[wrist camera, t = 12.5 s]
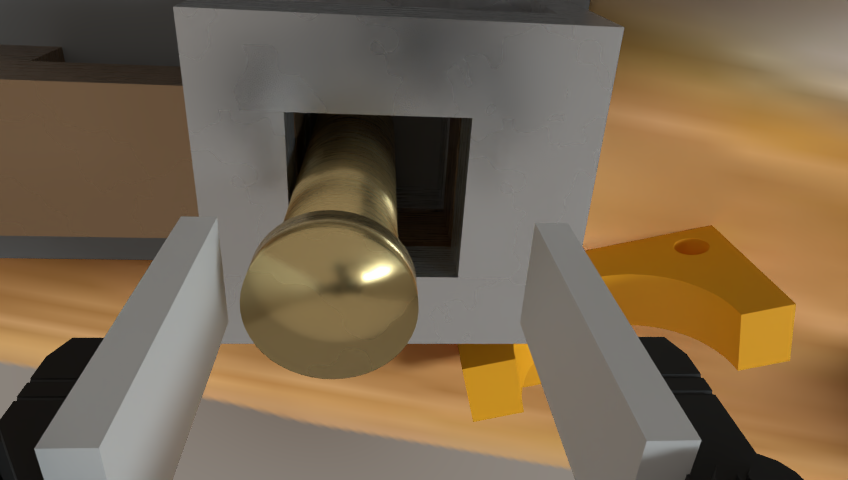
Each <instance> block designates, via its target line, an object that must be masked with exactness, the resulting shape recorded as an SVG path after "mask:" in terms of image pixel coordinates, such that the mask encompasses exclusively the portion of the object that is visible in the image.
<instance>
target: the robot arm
mask: <svg viewBox="0 0 848 480" xmlns="http://www.w3.org/2000/svg"><path fill="white" fill-rule="evenodd" d="M228 322H229V321H228V312H227V303H226V294H225V285H224V275H223V266H222V257H221V248H220V239H219V230H218V220H217V217H188V216H181V217H180V219H179V220H178V222H177V223H176V225H175V226H174V228H173V230H172V231H171V233H170V234H169V236H168V238H167V239H166V241H165V242H164V244H163V245H162V247H161V249H160V250H159V252H158V253H157V255H156V257H155V258H154V260H153V261H152V263H151V264H150V266H149V268H148V269H147V271H146V272H145V274H144V276H143V277H142V279H141V280H140V282H139V283H138V285H137V287H136V288H135V290H134V291H133V293H132V295H131V296H130V298H129V299H128V301H127V303H126V304H125V306H124V307H123V309H122V310H121V312H120V314H119V315H118V317H117V318H116V320H115V322H114V323H113V325H112V326H111V328H110V329H109V331H108V333H107V334H106V336H105V337H104V338H72V339H70V340H69V341H68V342H66V343H65V344H63V345H62V346H61V347H59V348H58V349H56V350H55V351H54V352H52V353H51V354H49V355H48V356H46V358H45V359H44V361H43V362H42V363H41V365H40V366H39V367H38V369H37V370H36V371H35V373H34V374H33V376H32V377H31V381H30V383H27V384H26V385H25V386H24V388H23V389H22V391H21V392H20V393H19V395H18V396H17V401H13V403H12V404H11V406H10V407H9V408H8V410H7V411H6V412H5V414H4V415H3V416H2V418H1V419H0V480H173V477H174V474H175V471H176V469H177V466H178V463H179V460H180V457H181V454H182V452H183V449H184V446H185V443H186V440H187V438H188V435H189V432H190V429H191V426H192V423H193V420H194V418H195V415H196V412H197V409H198V406H199V403H200V401H201V398H202V395H203V392H204V390H205V387H206V384H207V381H208V378H209V375H210V373H211V370H212V367H213V364H214V361H215V358H216V356H217V353H218V350H219V347H220V344H221V342H222V339H223V336H224V333H225V330H226V327H227V325H228ZM520 324H521V327H522V330H523V333H524V336H525V338H526V341H527V344H528V347H529V350H530V353H531V356H532V358H533V361H534V364H535V367H536V370H537V373H538V375H539V378H540V381H541V384H542V387H543V390H544V393H545V395H546V398H547V401H548V404H549V407H550V410H551V412H552V415H553V418H554V421H555V424H556V427H557V429H558V432H559V435H560V438H561V441H562V444H563V447H564V449H565V452H566V455H567V458H568V461H569V464H570V466H571V469H572V472H573V475H574V478H575V480H804V479H802V478H801V477H800V476H799V475H798V474H797V473H796V472H795V471H793V470H792V469H790V468H788V467H787V466H785V465H783V464H782V463H780V462H778V461H776V460H774V459H771V458H768V457H765V456H762V455H760V454H756V452H755V451H754V449H753V448H752V447H751V445H750V444H749V442H748V441H747V439H746V438H745V437H744V435H743V434H742V432H741V431H740V429H739V428H738V427H737V425H736V424H735V422H734V421H733V419H732V418H731V417H730V415H729V414H728V412H727V411H726V409H725V408H724V407H723V405H722V404H721V402H720V401H719V399H718V398H717V397H716V395H713V394H712V389H711V388H710V387H709V385H708V384H707V382H706V381H705V380H704V378H701V376H700V375H701V374H700V372H699V371H698V370H697V368H696V367H695V365H694V364H693V362H692V361H691V360H690V358H689V357H688V355H687V354H686V353H684V352H683V351H682V350H681V349H679V348H678V347H677V346H675V345H674V344H673V343H671V342H670V341H669V340H667V339H666V338H665V337H638V336H637V335H636V333H635V331H634V330H633V328H632V326H631V325H630V323H629V322H628V320H627V318H626V317H625V315H624V313H623V312H622V310H621V309H620V307H619V305H618V304H617V302H616V300H615V299H614V297H613V296H612V294H611V292H610V291H609V289H608V287H607V286H606V284H605V283H604V281H603V279H602V278H601V276H600V274H599V273H598V271H597V270H596V268H595V266H594V265H593V263H592V262H591V260H590V258H589V257H588V255H587V253H586V252H585V250H584V249H583V247H582V245H581V244H580V242H579V240H578V239H577V237H576V236H575V234H574V232H573V231H572V229H571V227H570V226H569V224H568V223H535V226H534V233H533V240H532V246H531V253H530V260H529V266H528V273H527V280H526V286H525V293H524V300H523V306H522V313H521V320H520Z"/></svg>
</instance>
